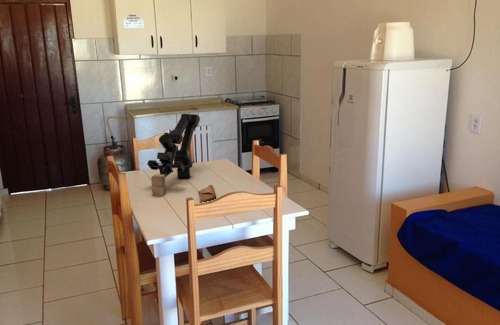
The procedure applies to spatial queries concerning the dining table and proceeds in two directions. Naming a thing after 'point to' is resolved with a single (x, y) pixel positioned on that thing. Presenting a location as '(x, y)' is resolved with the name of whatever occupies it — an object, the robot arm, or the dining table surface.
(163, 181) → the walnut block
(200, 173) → the dining table surface
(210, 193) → the sunglasses case
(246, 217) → the dining table surface
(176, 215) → the dining table surface
